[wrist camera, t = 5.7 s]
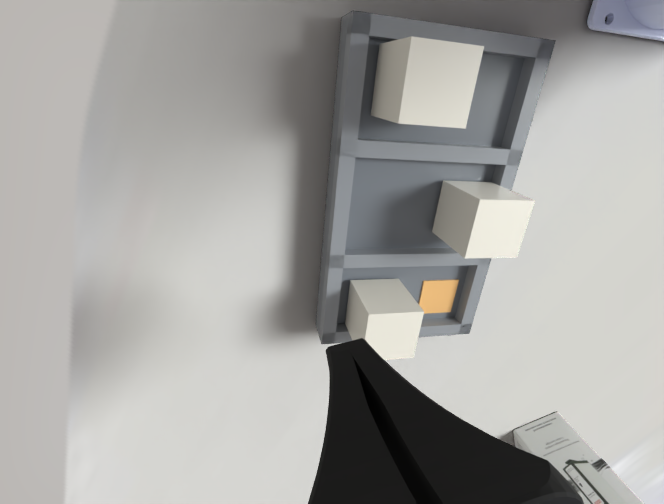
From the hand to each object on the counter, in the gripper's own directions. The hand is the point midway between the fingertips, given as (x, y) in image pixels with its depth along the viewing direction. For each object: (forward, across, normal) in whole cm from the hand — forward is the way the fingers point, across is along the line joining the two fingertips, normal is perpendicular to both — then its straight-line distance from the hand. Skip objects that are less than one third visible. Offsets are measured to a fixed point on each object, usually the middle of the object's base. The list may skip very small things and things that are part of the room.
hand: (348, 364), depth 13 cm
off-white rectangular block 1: (+8, -3, +4) cm, 10 cm away
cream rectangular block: (+8, -9, -1) cm, 12 cm away
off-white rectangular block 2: (+8, -6, -8) cm, 13 cm away
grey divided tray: (+10, -7, -2) cm, 12 cm away
